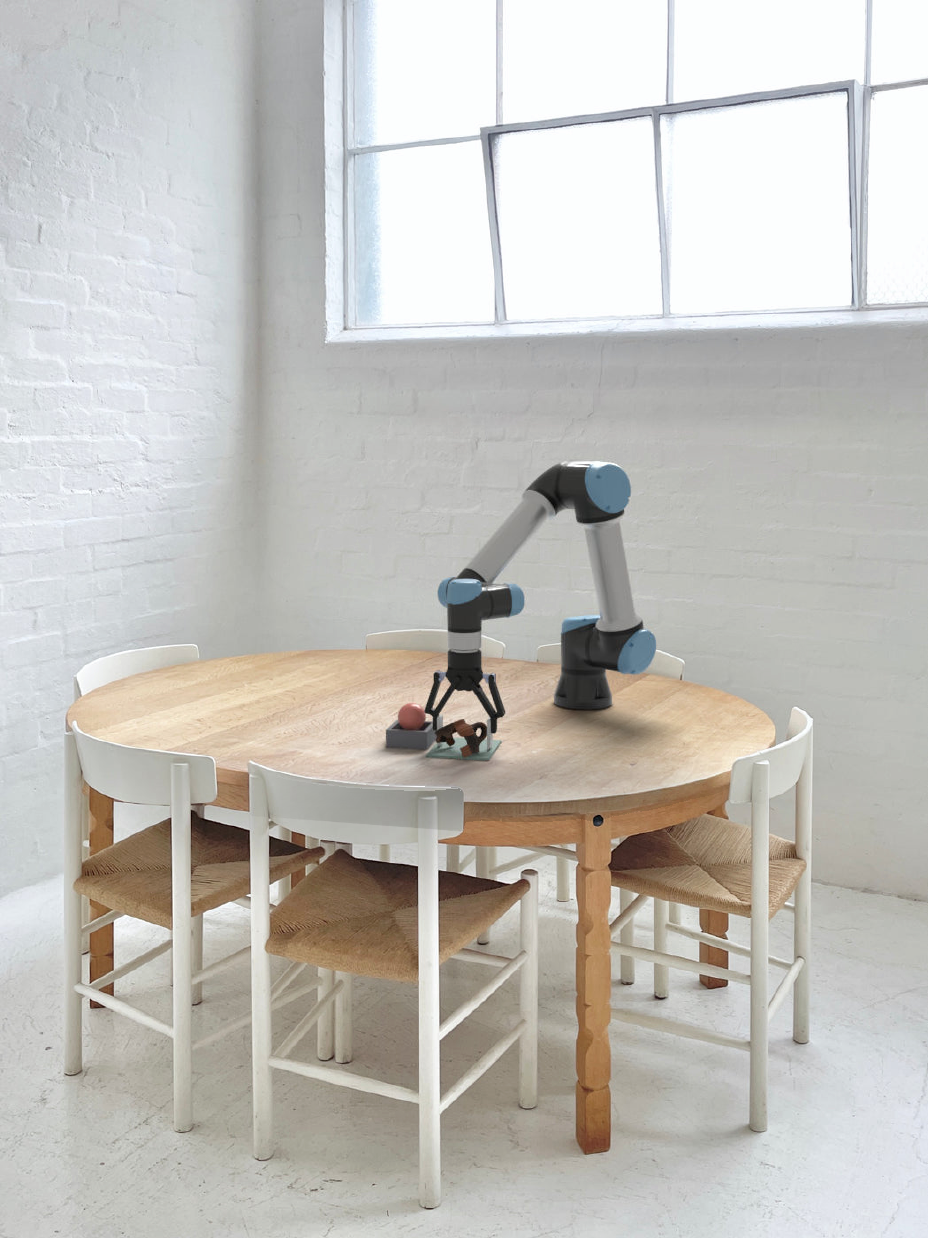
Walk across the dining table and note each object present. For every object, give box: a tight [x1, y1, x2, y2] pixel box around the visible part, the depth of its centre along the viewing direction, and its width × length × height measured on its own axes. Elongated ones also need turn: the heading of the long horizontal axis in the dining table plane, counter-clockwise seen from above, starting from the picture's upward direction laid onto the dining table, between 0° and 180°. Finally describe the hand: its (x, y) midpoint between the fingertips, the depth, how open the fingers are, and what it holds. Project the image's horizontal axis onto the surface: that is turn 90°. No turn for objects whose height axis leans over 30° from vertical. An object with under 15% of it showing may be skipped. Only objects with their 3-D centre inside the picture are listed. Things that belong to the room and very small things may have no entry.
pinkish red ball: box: [397, 702, 427, 730], centre depth 263 cm, size 6×6×6 cm
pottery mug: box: [435, 718, 487, 757], centre depth 255 cm, size 12×10×8 cm
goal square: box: [425, 737, 502, 761], centre depth 258 cm, size 14×15×1 cm
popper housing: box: [385, 718, 437, 750], centre depth 263 cm, size 10×10×4 cm
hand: (464, 745), depth 258 cm, fingers closed on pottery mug, 11 cm apart
